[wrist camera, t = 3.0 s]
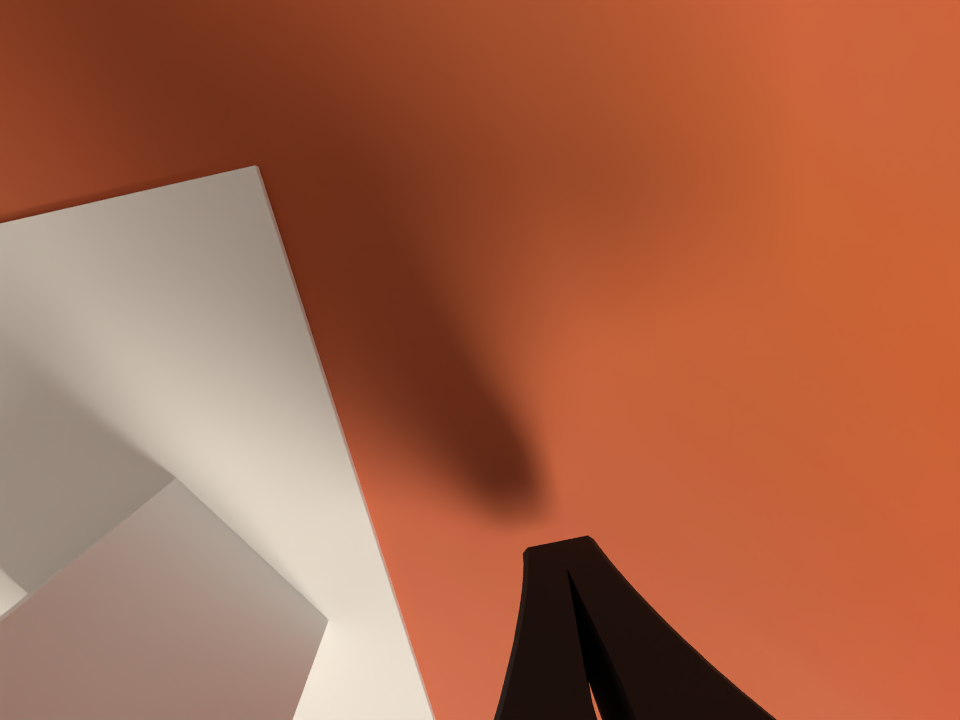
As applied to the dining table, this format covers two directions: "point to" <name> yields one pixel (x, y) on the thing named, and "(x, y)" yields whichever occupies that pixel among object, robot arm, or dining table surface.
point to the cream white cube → (160, 627)
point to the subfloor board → (189, 414)
